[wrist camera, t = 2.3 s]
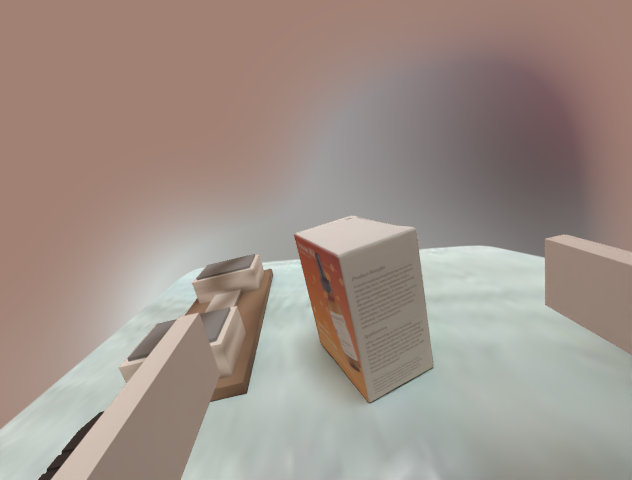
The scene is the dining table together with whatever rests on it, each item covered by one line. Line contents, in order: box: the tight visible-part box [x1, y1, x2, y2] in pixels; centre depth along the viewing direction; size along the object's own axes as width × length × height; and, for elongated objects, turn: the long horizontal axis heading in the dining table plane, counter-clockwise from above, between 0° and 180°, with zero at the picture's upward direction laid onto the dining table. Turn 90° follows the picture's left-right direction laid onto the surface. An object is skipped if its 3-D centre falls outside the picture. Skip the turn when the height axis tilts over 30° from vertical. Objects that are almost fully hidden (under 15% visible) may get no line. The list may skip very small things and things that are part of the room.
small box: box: [294, 216, 433, 402], centre depth 22 cm, size 8×6×10 cm
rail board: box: [119, 254, 273, 401], centre depth 34 cm, size 10×24×4 cm, turn 3°
